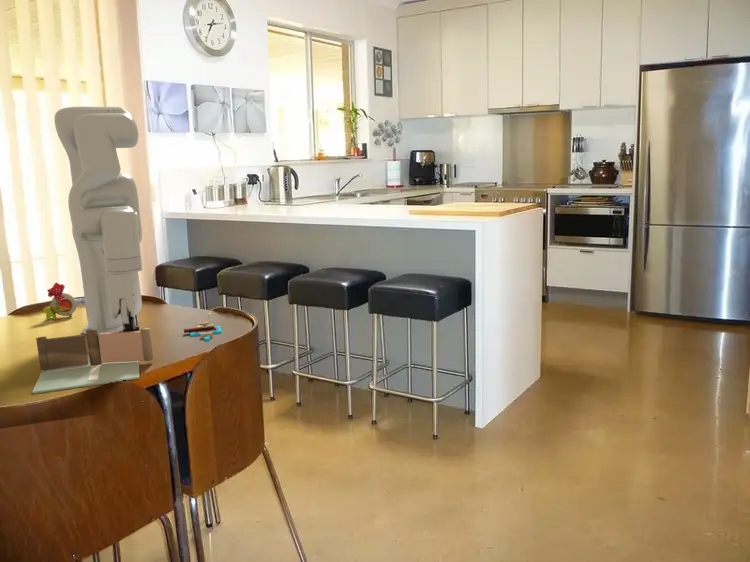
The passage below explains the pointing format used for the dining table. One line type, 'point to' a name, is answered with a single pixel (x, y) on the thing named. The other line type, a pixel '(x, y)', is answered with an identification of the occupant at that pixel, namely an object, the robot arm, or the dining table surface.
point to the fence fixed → (69, 350)
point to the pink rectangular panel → (126, 346)
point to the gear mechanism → (204, 327)
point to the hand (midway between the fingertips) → (132, 344)
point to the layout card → (85, 375)
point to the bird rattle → (66, 304)
